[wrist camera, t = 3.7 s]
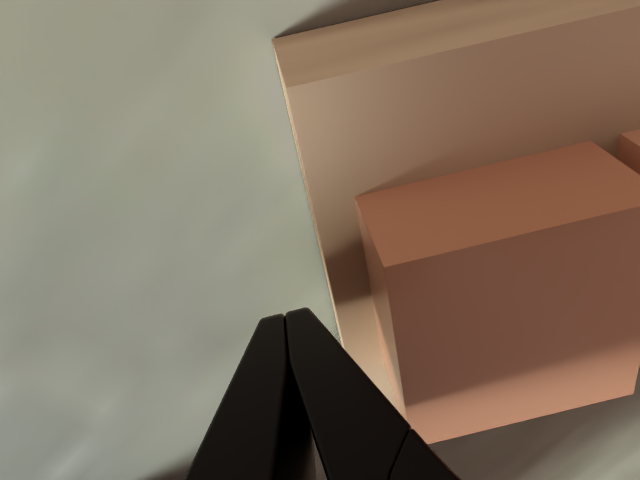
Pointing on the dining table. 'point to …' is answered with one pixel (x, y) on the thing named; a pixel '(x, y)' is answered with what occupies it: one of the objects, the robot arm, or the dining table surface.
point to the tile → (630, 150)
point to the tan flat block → (445, 111)
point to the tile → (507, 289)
